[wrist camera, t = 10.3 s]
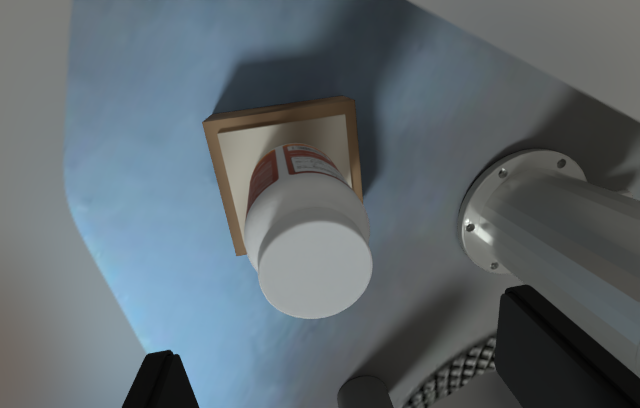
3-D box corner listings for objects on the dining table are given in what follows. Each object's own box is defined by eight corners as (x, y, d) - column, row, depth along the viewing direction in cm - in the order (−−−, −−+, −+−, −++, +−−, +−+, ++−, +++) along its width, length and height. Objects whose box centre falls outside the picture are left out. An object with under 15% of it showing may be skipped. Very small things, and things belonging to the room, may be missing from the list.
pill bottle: (272, 237, 25) (276, 355, 15) (234, 162, 22) (206, 242, 12) (350, 204, 25) (408, 300, 15) (320, 126, 22) (364, 176, 12)
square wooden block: (342, 95, 26) (355, 100, 22) (353, 212, 30) (366, 234, 26) (211, 114, 25) (201, 123, 21) (240, 232, 29) (236, 258, 25)
